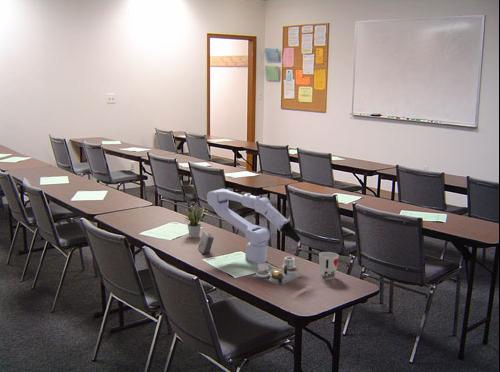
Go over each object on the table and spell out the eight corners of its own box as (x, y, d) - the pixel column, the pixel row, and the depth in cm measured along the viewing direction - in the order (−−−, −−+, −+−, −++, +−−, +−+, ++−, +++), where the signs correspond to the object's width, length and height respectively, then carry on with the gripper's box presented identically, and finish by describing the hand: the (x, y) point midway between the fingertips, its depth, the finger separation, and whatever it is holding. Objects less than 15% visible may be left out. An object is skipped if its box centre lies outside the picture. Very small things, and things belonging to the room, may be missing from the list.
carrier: (251, 278, 219) (252, 269, 218) (273, 269, 230) (273, 260, 229) (280, 288, 209) (281, 278, 209) (301, 278, 221) (302, 268, 220)
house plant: (212, 232, 285) (212, 203, 282) (207, 240, 271) (207, 209, 268) (186, 231, 286) (186, 202, 283) (180, 238, 273) (180, 208, 269)
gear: (279, 269, 231) (280, 258, 230) (287, 265, 236) (287, 255, 235) (290, 272, 227) (291, 261, 226) (298, 268, 232) (298, 258, 231)
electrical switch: (197, 248, 258) (199, 230, 256) (207, 248, 259) (209, 230, 258) (202, 254, 249) (204, 235, 247) (212, 254, 250) (214, 235, 249)
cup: (322, 281, 218) (324, 258, 216) (315, 274, 225) (316, 252, 223) (340, 279, 220) (341, 257, 218) (332, 273, 228) (333, 251, 226)
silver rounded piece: (252, 275, 219) (253, 264, 218) (261, 272, 223) (261, 260, 222) (264, 279, 215) (264, 267, 214) (272, 275, 220) (273, 264, 219)
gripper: (279, 207, 223) (301, 229, 218) (285, 215, 236) (306, 235, 231) (267, 219, 223) (290, 241, 218) (274, 226, 236) (295, 247, 231)
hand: (297, 239), depth 224 cm, fingers open, 7 cm apart
